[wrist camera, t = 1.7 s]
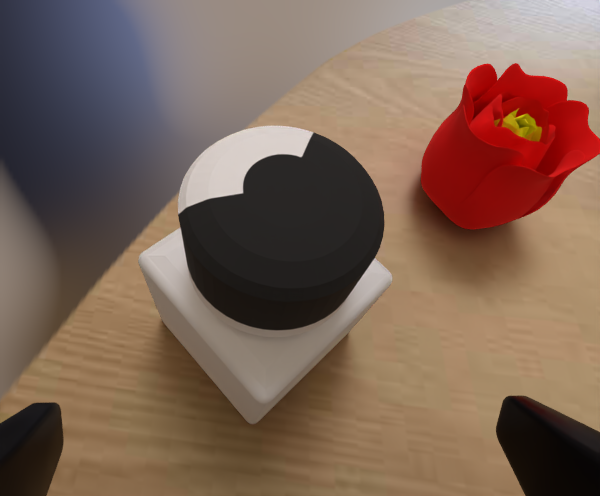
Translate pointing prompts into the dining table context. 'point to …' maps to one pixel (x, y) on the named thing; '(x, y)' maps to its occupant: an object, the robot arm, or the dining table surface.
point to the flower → (505, 148)
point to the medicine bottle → (268, 260)
